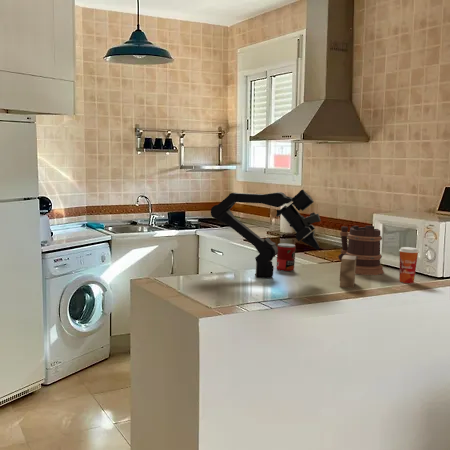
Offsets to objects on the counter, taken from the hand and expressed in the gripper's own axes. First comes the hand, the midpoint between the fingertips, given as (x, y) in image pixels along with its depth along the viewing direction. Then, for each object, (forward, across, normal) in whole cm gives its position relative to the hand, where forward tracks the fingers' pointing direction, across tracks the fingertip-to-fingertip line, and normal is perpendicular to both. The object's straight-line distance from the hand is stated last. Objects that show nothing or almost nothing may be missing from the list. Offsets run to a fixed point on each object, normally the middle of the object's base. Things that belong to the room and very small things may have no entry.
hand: (319, 249), depth 231 cm
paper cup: (+33, +17, -17) cm, 41 cm away
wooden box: (+18, 0, 0) cm, 18 cm away
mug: (+19, +36, -3) cm, 41 cm away
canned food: (-1, +22, +20) cm, 30 cm away
